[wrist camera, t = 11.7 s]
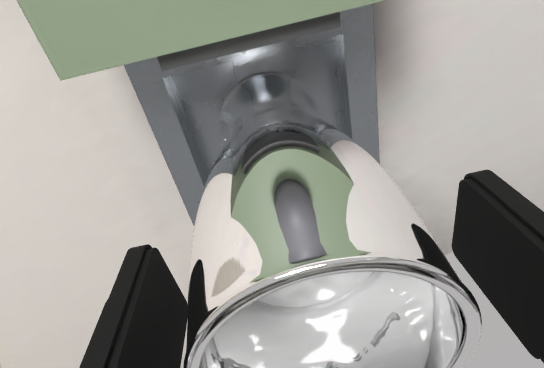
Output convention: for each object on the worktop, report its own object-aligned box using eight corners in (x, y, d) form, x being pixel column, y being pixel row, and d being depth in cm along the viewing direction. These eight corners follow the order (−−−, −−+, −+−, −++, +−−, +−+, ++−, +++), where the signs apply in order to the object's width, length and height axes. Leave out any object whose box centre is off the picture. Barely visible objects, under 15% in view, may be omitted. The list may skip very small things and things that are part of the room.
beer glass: (285, 36, 18) (427, 176, 5) (346, 134, 21) (524, 370, 8) (186, 112, 19) (95, 370, 6) (257, 192, 22) (290, 466, 10)
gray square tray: (352, -11, 18) (371, -9, 15) (365, 178, 24) (381, 201, 21) (135, 43, 18) (119, 53, 15) (204, 215, 24) (201, 242, 22)
